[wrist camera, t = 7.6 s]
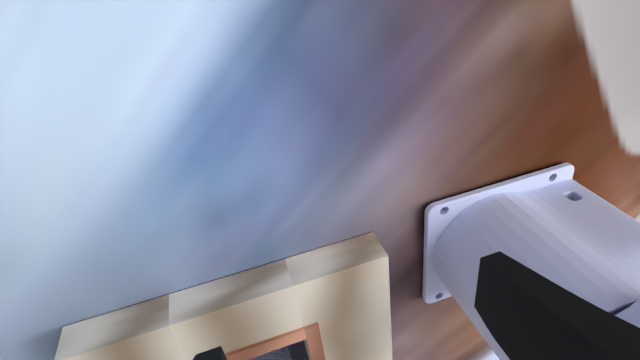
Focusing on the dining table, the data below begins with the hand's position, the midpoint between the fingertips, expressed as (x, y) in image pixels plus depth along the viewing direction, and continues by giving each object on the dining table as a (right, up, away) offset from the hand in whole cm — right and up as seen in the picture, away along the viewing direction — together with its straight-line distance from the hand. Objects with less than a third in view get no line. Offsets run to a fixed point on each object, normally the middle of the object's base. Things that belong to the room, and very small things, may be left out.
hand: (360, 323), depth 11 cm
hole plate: (-5, -7, +14) cm, 16 cm away
